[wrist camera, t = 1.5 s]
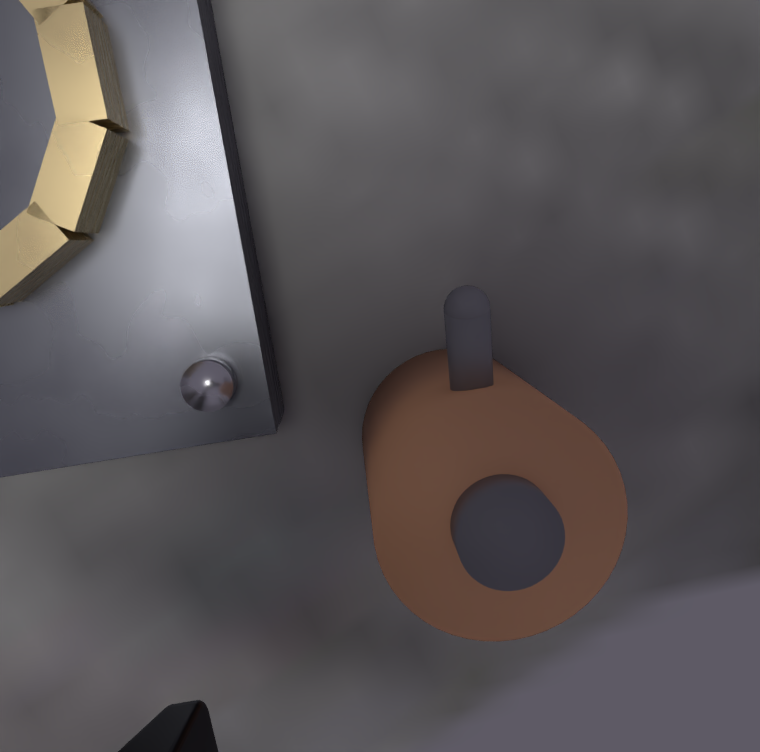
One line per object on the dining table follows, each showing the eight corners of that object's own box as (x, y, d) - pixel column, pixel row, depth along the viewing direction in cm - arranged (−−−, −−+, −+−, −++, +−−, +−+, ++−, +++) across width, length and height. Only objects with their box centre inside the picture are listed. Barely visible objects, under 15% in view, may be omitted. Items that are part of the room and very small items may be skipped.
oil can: (544, 503, 20) (654, 640, 13) (376, 531, 20) (395, 684, 13) (517, 261, 19) (624, 268, 12) (337, 288, 19) (336, 312, 12)
